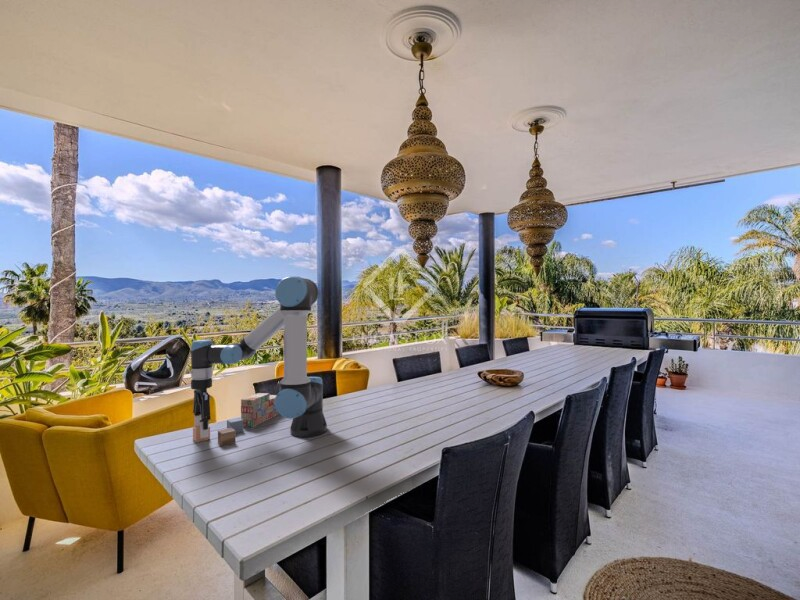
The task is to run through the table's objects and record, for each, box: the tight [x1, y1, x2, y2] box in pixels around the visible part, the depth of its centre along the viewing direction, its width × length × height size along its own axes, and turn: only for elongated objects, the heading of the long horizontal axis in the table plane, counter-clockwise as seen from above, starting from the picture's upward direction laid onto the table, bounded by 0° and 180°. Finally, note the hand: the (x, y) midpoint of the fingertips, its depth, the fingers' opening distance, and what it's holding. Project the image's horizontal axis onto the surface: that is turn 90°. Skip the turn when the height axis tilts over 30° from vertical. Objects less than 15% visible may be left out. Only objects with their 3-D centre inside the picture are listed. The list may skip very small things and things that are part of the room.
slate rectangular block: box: [226, 417, 244, 434], centre depth 154 cm, size 5×5×5 cm
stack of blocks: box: [240, 392, 280, 428], centre depth 170 cm, size 21×6×12 cm, turn 164°
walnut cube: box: [217, 427, 237, 447], centre depth 140 cm, size 5×5×5 cm
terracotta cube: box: [192, 425, 211, 443], centre depth 145 cm, size 5×5×5 cm
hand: (201, 434), depth 145 cm, fingers open, 9 cm apart
